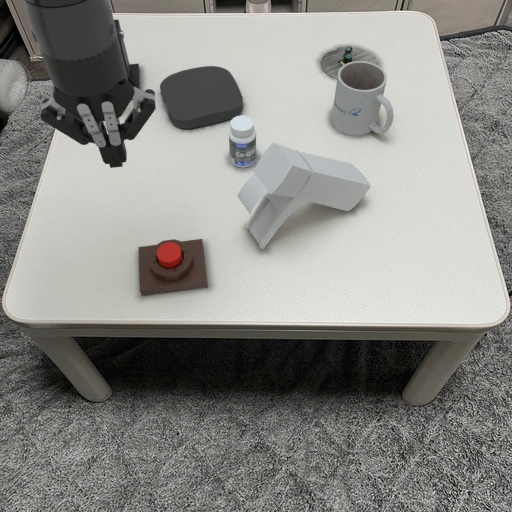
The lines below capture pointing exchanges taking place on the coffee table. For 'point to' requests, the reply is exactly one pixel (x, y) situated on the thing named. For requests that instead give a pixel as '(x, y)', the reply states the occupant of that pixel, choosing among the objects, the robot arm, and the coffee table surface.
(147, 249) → the button box
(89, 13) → the robot arm
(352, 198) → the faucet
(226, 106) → the media streaming box
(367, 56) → the sculpture
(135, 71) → the bracket
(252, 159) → the pill bottle
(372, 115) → the mug
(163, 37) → the coffee table surface
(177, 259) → the button
